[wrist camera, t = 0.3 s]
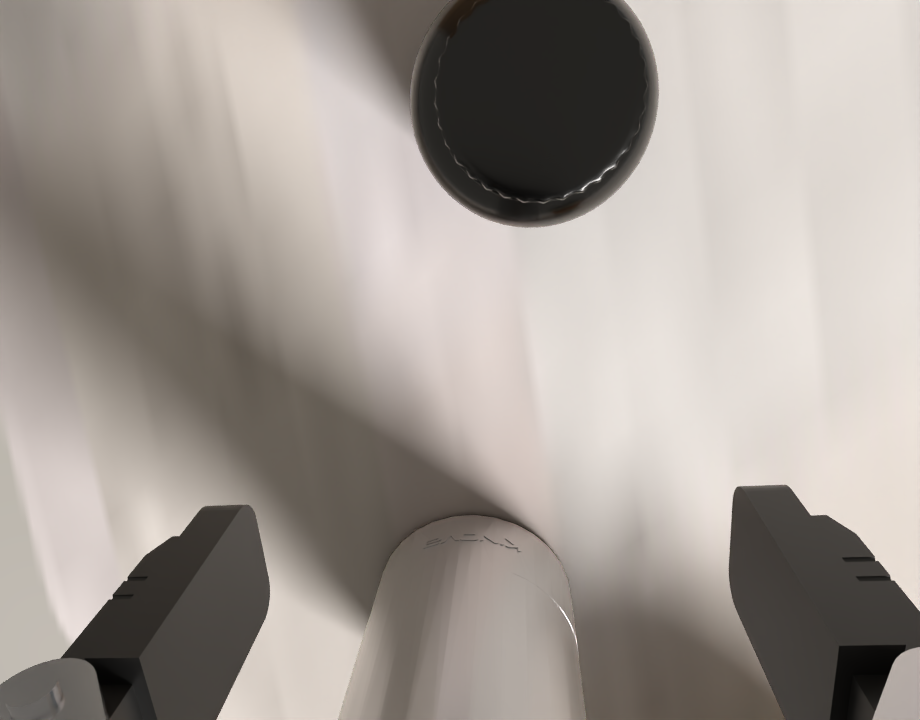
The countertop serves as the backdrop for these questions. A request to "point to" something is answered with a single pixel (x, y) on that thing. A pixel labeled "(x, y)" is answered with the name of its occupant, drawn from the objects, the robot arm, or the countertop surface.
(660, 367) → the countertop surface
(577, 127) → the supplement bottle
